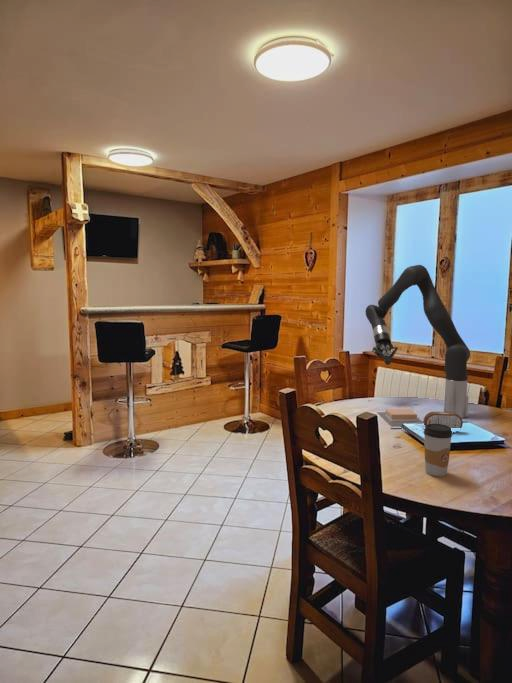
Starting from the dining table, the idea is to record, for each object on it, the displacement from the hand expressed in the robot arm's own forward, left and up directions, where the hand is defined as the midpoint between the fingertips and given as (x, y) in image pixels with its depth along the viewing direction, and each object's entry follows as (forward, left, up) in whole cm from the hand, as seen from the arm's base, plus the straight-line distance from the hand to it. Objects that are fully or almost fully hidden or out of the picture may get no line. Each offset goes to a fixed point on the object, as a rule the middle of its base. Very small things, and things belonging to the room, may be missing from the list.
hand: (388, 363), depth 215 cm
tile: (0, +15, -20) cm, 25 cm away
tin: (-12, +35, -23) cm, 44 cm away
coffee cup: (+8, +76, -23) cm, 80 cm away
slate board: (0, +20, -23) cm, 31 cm away
